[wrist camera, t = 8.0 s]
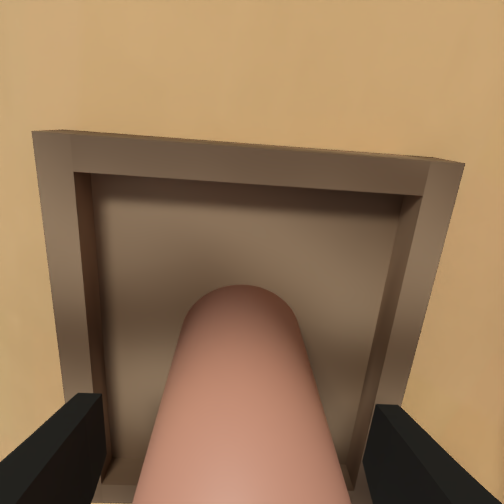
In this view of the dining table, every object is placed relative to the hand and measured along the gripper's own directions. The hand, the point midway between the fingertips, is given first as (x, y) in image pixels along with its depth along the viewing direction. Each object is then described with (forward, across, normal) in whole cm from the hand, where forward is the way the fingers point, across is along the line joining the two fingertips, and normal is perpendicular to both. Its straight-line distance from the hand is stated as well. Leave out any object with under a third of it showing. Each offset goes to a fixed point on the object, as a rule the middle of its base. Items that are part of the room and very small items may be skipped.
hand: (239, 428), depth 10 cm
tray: (+5, 0, 0) cm, 5 cm away
